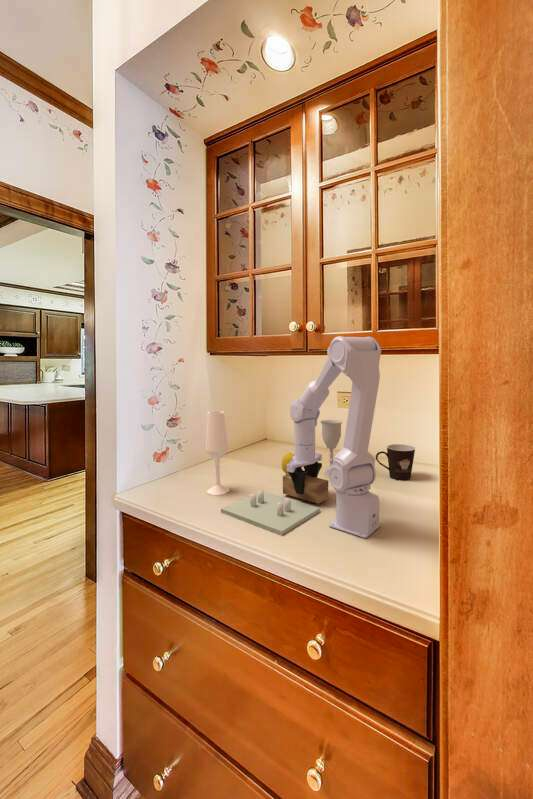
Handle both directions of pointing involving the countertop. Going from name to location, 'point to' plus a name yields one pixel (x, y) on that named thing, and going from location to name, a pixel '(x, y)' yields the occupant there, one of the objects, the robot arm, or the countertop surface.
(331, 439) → the chalice
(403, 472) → the coffee mug
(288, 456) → the lemon
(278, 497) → the peg base
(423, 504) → the countertop surface
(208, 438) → the champagne flute
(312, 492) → the shelf block
